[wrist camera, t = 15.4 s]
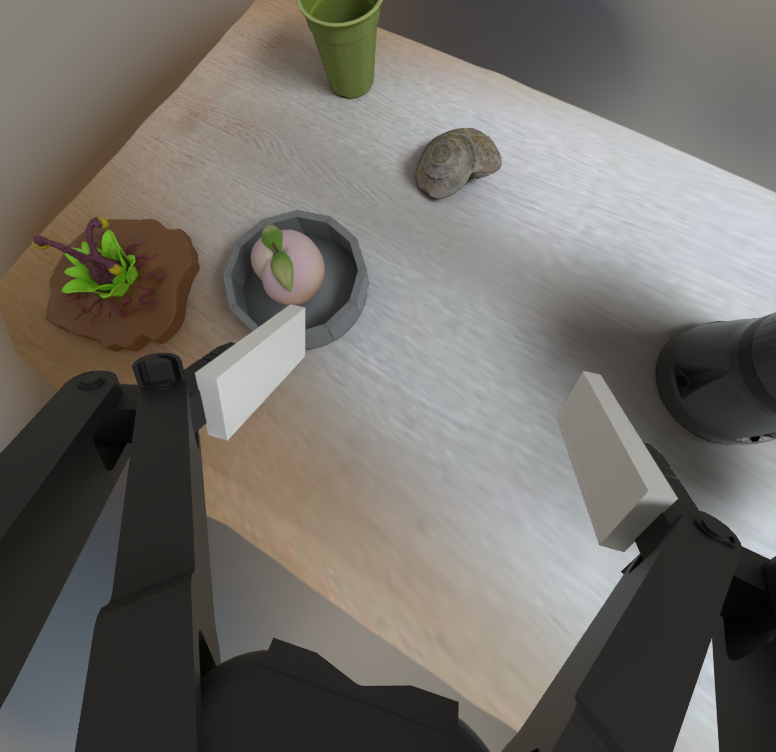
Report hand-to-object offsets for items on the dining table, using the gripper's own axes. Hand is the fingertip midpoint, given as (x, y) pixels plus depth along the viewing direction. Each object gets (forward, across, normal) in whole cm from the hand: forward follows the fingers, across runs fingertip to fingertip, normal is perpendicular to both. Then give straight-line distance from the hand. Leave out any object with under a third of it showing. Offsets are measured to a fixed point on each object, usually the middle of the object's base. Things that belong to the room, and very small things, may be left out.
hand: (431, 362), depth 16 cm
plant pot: (+55, -23, +17) cm, 62 cm away
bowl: (+28, -20, -9) cm, 36 cm away
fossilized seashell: (+46, -3, +7) cm, 46 cm away
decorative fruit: (+28, -20, -9) cm, 35 cm away
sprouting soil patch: (+25, -45, -13) cm, 53 cm away
